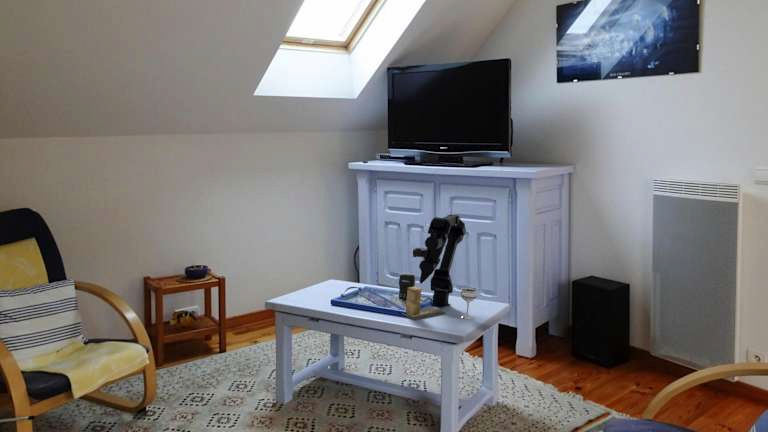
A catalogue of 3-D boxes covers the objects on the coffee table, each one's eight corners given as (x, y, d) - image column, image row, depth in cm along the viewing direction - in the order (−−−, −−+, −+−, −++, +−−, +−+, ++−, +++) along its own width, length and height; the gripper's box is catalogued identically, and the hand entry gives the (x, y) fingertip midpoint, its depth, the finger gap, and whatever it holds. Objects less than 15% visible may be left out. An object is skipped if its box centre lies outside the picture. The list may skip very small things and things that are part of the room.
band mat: (427, 306, 289) (427, 303, 289) (445, 313, 281) (445, 310, 280) (397, 312, 278) (397, 308, 278) (414, 320, 270) (414, 316, 270)
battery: (396, 298, 298) (398, 273, 296) (399, 296, 301) (401, 271, 299) (411, 301, 295) (413, 276, 294) (414, 299, 299) (416, 274, 297)
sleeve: (413, 312, 278) (414, 286, 276) (419, 314, 275) (421, 288, 273) (405, 313, 276) (407, 287, 274) (412, 316, 272) (414, 290, 271)
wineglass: (464, 313, 282) (466, 286, 280) (478, 317, 278) (480, 289, 276) (455, 316, 277) (457, 288, 275) (469, 321, 273) (472, 292, 271)
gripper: (422, 235, 290) (408, 268, 293) (414, 243, 272) (400, 277, 275) (446, 246, 288) (432, 278, 291) (440, 254, 270) (425, 288, 273)
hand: (422, 280), depth 283 cm, fingers open, 9 cm apart
